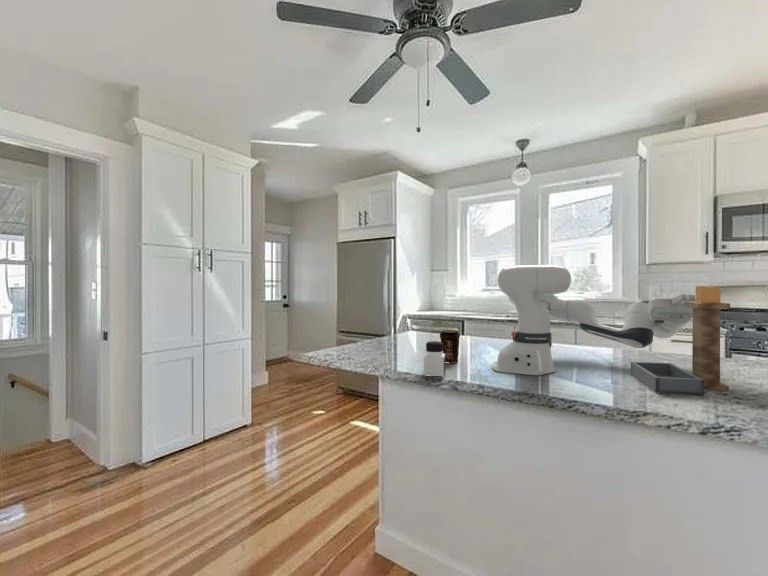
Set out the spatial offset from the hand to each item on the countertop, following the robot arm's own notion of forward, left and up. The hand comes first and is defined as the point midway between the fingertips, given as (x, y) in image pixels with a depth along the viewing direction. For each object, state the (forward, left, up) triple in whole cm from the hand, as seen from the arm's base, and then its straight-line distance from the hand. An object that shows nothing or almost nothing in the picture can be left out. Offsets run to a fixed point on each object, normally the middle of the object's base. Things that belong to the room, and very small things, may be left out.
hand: (692, 296), depth 128 cm
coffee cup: (-80, +11, -28) cm, 86 cm away
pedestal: (0, -9, -27) cm, 29 cm away
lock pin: (0, -4, -1) cm, 4 cm away
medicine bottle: (-83, -11, -28) cm, 89 cm away
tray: (-11, -8, -27) cm, 31 cm away
